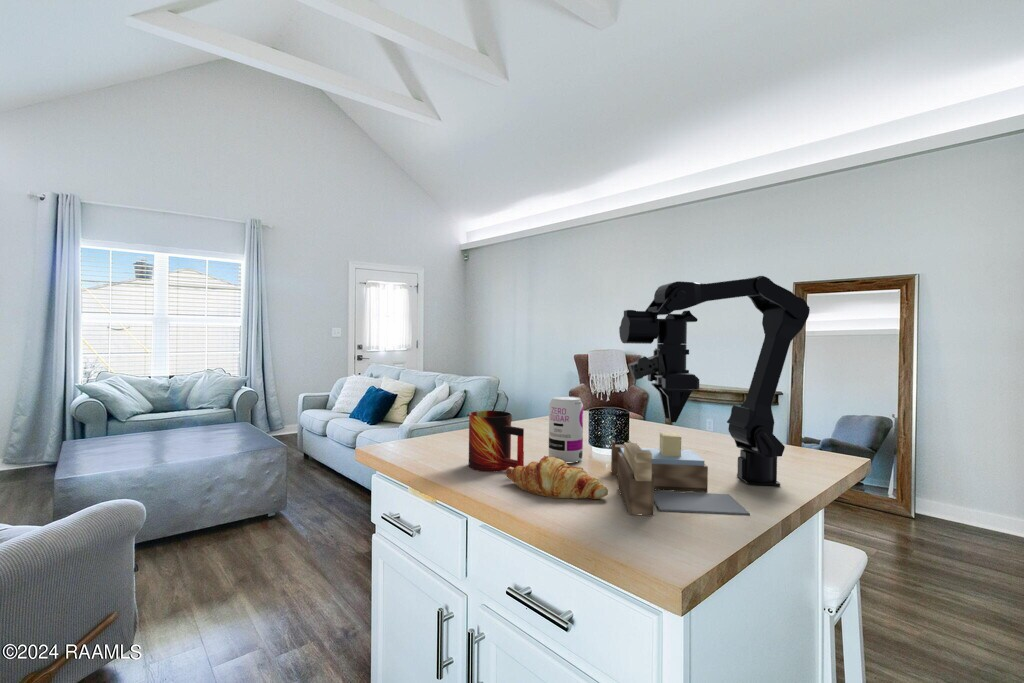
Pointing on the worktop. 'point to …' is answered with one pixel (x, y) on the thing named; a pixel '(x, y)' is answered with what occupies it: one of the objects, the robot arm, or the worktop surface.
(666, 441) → the lid
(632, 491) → the brown wooden box
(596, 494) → the croissant
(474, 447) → the mug
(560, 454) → the supplement can
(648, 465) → the beige block
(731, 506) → the mat
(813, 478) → the worktop surface
